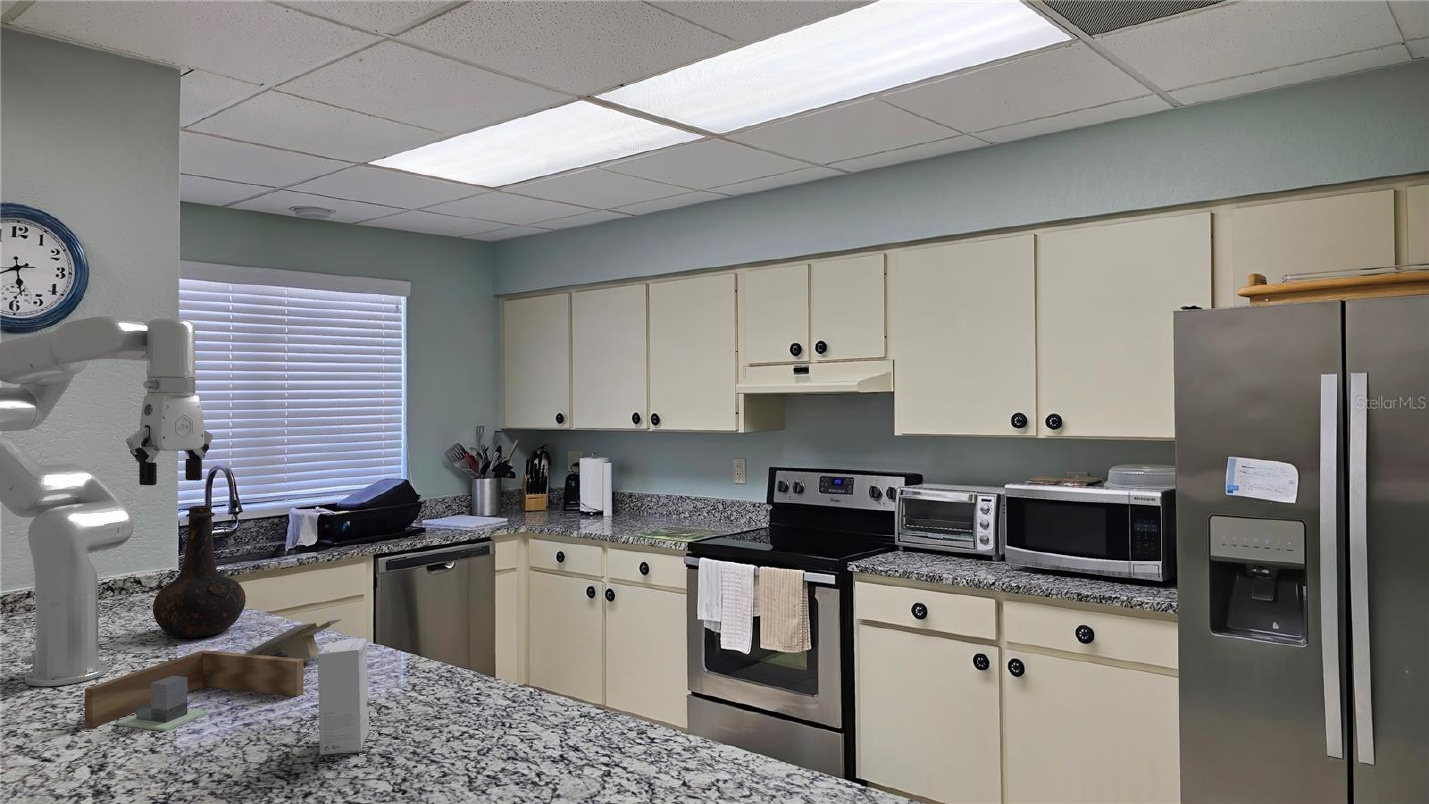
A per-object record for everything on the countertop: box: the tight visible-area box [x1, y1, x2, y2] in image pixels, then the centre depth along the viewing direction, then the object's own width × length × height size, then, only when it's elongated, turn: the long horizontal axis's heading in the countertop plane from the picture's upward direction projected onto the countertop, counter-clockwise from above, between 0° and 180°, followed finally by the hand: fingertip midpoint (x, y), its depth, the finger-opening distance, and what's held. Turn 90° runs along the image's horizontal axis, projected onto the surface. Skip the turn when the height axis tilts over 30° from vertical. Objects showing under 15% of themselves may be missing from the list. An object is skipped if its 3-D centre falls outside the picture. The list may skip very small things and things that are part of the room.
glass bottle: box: [152, 504, 246, 639], centre depth 199 cm, size 18×18×28 cm
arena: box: [84, 649, 305, 729], centre depth 150 cm, size 22×23×6 cm
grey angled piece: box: [243, 618, 343, 664], centre depth 175 cm, size 16×9×15 cm
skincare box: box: [317, 637, 370, 756], centre depth 135 cm, size 8×6×15 cm
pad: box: [115, 708, 209, 732], centre depth 145 cm, size 10×8×1 cm
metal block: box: [135, 676, 188, 723], centre depth 145 cm, size 4×6×6 cm, turn 75°
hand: (171, 482), depth 163 cm, fingers open, 9 cm apart
